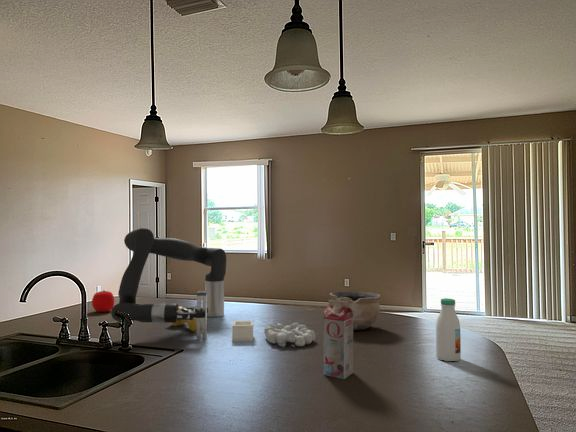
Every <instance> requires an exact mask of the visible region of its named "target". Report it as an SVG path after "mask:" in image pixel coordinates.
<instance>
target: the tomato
mask: <svg viewBox="0 0 576 432" xmlns="http://www.w3.org/2000/svg"><path fill="white" fill-rule="evenodd" d="M91 304H92V307H93V309H94V311H96V312H98V313H99V312H100V313H101V312H102V313H104V312H105V313H107V312H111V310H112V308H113V307H114V306H115V296H114V294H113V293H112V292H111V291H109V290H108V291H107V290H101V291H98V292H95V293H94V294H93V297H92V300H91Z"/></svg>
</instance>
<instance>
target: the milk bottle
mask: <svg viewBox="0 0 576 432" xmlns="http://www.w3.org/2000/svg"><path fill="white" fill-rule="evenodd" d="M440 306H441V309H440V312H439V315H438V316H437V319H436V325H435V326H436V327H435V328H436V329H435V357H436V358H437V359H438V360H440V361H442V360H444V361H443V362H448V361H457V362H459V361H461V357H462V356H461V355H462V354H461V353H462V351H461V349H462V348H461V347H462V346H461V343H462V342H461V339H462V338H461V323H460V319H459V317H458V315H457V313H456V309H455V307H456V300H455V299H453V298H448V297H447V298H444V297H443V298H441V299H440ZM458 360H459V361H458Z"/></svg>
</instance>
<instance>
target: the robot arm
mask: <svg viewBox="0 0 576 432" xmlns="http://www.w3.org/2000/svg"><path fill="white" fill-rule="evenodd" d="M123 240H124V244H125V245H124V246H125V247H126V248H127V249H128V250H129V251H131V252H133V254H132V257H131V260H130V262H129V264H128V266H127V267H126V269H125V270H124V273H123V275H122V278H121V281H120V284H119V288H118V298H119V300H118V303H116V304H114V306H113V308H112V309H111V310H110V316H111V317H112V318H113V320H114V321H116V322H117V323H119V324H121V322H122V321H121V319H120V318H119V317H116V316H115V312H116V311H121V312H125V313H127V314H129V316H130V318H131V320H132V321H137V322H139V323H157V324H167V323H168V324H171V323H176V322H177V321H178V320H193V319H195V317H196V318H205V312H197V305H195V306H193V305H191V306H182V307H183V308H181V309H179V308H178V307H179V304H178V303H176V302H175V303H171V302H170V303H169V302H168V303H151V304H150V303H147V304H145V303H144V304H140V303H137V294H138V291H139V286H140V281H141V277H142V273H143V271H144V268H145V265H146V262H147V260H148V257H149V255H150V254H152V255H153V254H154V255H156V256H157V255H158V256H161V257H166V258H170V259H175V260H179V261H188V262H195V263H199V264H202V265H204V266H207V267H210V271H209V273H206V275H205V277H204V278H205V284H204V286H205V287H204V291H207V318H208V317H209V318H217V317H218V318H219V317H223V316H224V315H225V276H226V274H227V272H226V271H227V254H226V252H225V250H224V249H223V248H221V247H220V248H219V247H202V246H196V245H195V244H193V243H191V242H190V241H186V240H183V239H180V238H175V237H174V238H173V237H155V236H154V233H153V232H152V230H151V229H150V228H148V227H139V228H138V229H134V230H131V231H130V232H128V233H127V234H126V235H125V237H124V239H123Z"/></svg>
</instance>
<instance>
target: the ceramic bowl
mask: <svg viewBox="0 0 576 432" xmlns="http://www.w3.org/2000/svg"><path fill="white" fill-rule="evenodd" d="M329 297H330V298H331V299H330V300H335V301H344V302H349V308H350V309H351V310H352V311H353V331H361V330H365V329H366V330H367V329H368V328H370V327H371V326H373V324H374V323H375V322H376V320H377V319H378V317H379V315H380V312H381V307H380V299H381V295H380V294H378V293H375V292H366V291H356V290H355V291H354V290H351V291H344V290H343V291H334V292H330V293H329Z"/></svg>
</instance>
